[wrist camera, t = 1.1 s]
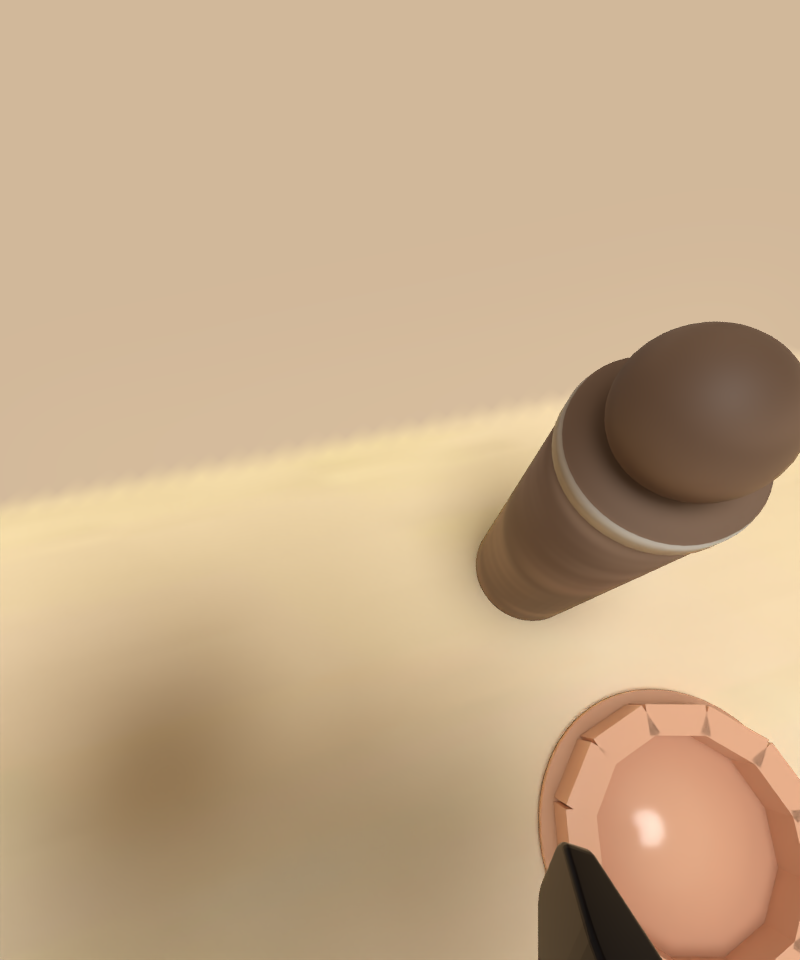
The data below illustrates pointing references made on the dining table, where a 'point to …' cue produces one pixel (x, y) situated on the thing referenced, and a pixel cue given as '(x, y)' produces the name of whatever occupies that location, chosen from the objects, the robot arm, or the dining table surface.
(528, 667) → the dining table surface
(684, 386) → the pepper mill
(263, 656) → the dining table surface
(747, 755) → the dish
